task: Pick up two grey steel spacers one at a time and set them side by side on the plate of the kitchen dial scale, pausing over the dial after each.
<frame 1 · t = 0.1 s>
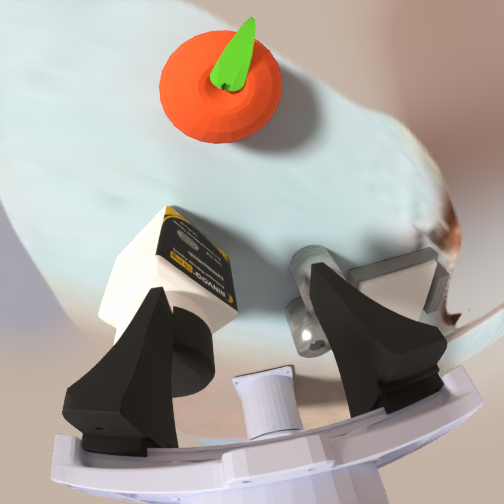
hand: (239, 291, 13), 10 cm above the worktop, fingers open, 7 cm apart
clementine: (220, 79, 17), on the worktop
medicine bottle: (171, 255, 24), on the worktop, touching gripper
spacer a: (310, 263, 26), on the worktop
scale: (386, 294, 31), on the worktop
spacer b: (303, 309, 30), on the worktop
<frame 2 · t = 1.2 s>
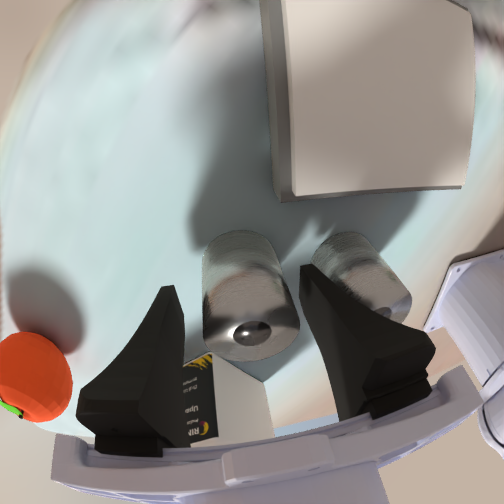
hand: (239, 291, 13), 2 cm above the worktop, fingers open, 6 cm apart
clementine: (39, 338, 17), on the worktop
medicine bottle: (206, 381, 22), on the worktop
spacer a: (239, 262, 15), on the worktop
scale: (378, 77, 11), on the worktop
spacer b: (340, 259, 17), on the worktop, touching gripper
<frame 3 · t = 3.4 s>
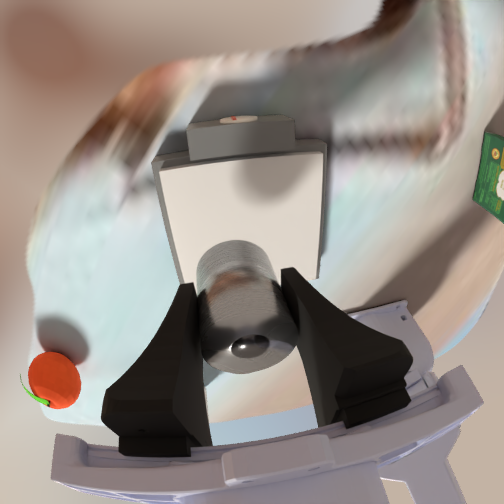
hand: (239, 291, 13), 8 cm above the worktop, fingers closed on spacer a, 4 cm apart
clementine: (57, 355, 27), on the worktop
spacer a: (233, 272, 15), point 7 cm above the worktop, touching gripper
green cardboard box: (483, 166, 21), on the worktop
scale: (244, 217, 21), on the worktop
when the fingers open (5 cm above the worktop, at t = 4.7 s): spacer a stays where it is, resting on scale.
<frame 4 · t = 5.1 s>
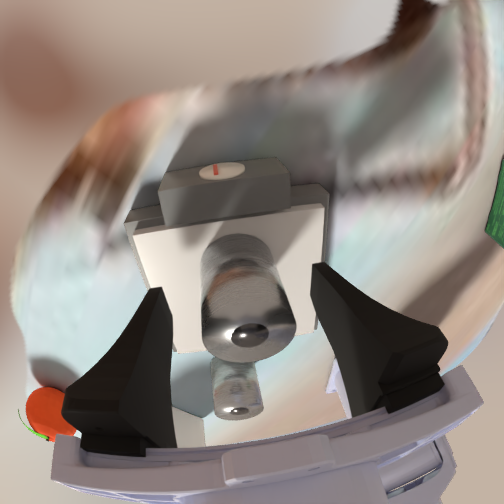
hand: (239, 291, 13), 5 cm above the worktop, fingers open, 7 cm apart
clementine: (53, 388, 25), on the worktop
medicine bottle: (164, 415, 30), on the worktop
spacer a: (236, 265, 16), point 2 cm above the worktop, touching scale
green cardboard box: (497, 195, 19), on the worktop
scale: (234, 272, 19), on the worktop
spacer b: (232, 363, 25), on the worktop
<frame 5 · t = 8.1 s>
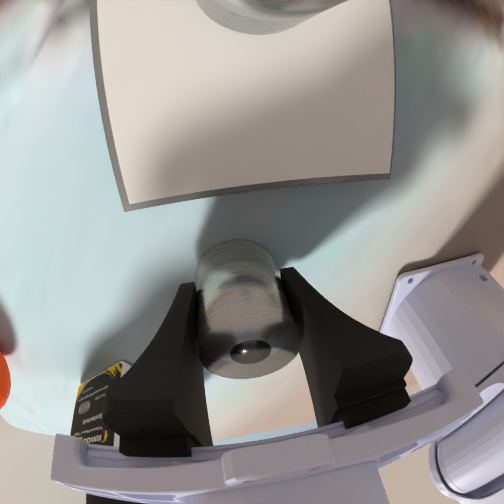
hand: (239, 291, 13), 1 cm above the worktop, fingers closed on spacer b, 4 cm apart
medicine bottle: (132, 389, 20), on the worktop
scale: (248, 48, 9), on the worktop
spacer b: (236, 273, 15), on the worktop, touching gripper
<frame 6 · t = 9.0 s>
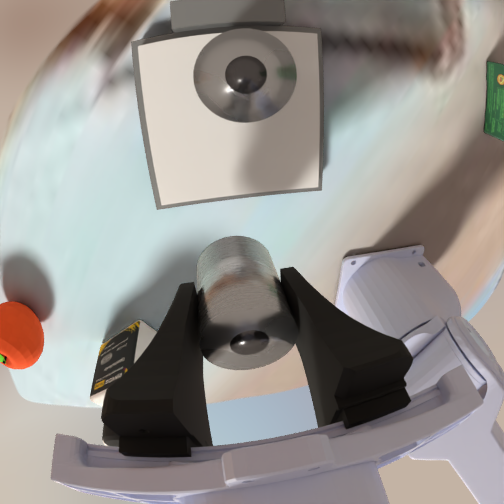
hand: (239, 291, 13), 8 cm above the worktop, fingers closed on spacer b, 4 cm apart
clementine: (23, 309, 23), on the worktop
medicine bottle: (144, 347, 28), on the worktop
spacer a: (234, 77, 13), point 2 cm above the worktop, touching scale
green cardboard box: (490, 98, 17), on the worktop
scale: (231, 111, 16), on the worktop
spacer b: (234, 268, 15), point 6 cm above the worktop, touching gripper
when the fingers open (5 cm above the worktop, at t = 10.3 s): spacer b stays where it is, resting on scale.
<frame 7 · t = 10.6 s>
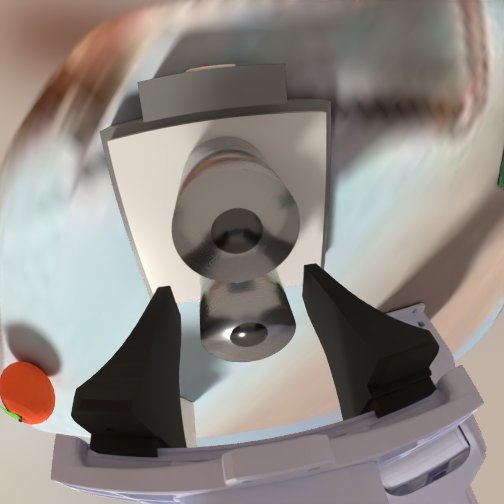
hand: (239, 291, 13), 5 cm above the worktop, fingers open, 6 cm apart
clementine: (30, 365, 22), on the worktop
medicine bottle: (150, 398, 27), on the worktop
spacer a: (225, 178, 13), point 2 cm above the worktop, touching scale
scale: (225, 202, 16), on the worktop
spacer b: (235, 264, 16), point 2 cm above the worktop, touching scale
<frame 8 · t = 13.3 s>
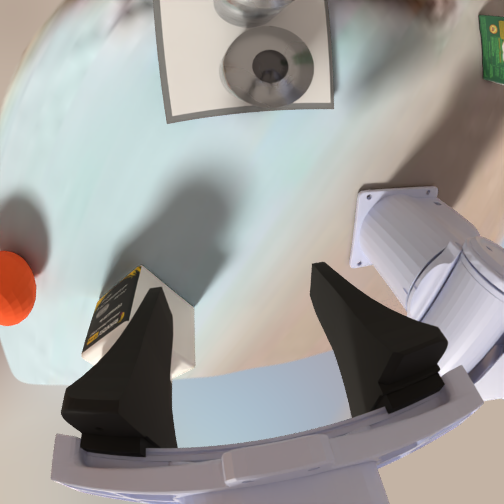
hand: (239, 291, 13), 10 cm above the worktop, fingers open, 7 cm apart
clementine: (16, 263, 21), on the worktop
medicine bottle: (145, 302, 26), on the worktop
spacer a: (247, 0, 12), point 2 cm above the worktop, touching scale
green cardboard box: (485, 49, 15), on the worktop
scale: (243, 35, 15), on the worktop
spacer b: (252, 70, 14), point 2 cm above the worktop, touching scale
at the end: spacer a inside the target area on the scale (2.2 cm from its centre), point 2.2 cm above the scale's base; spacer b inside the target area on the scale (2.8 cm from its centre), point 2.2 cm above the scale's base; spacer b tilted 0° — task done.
